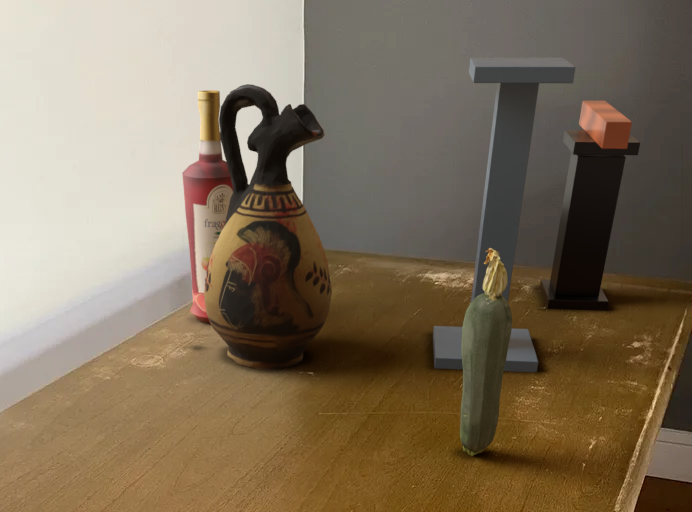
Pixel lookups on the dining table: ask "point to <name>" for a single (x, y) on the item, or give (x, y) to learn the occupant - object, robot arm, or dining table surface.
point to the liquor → (206, 197)
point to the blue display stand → (504, 188)
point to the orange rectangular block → (605, 124)
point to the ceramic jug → (267, 242)
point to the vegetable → (484, 358)
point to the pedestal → (585, 223)
